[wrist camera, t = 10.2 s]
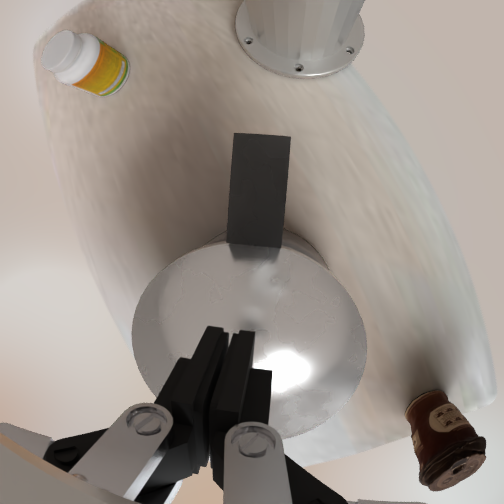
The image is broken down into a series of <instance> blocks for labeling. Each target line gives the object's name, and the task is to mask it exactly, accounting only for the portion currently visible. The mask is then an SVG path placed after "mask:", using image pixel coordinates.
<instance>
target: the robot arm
mask: <svg viewBox="0 0 504 504" xmlns="http://www.w3.org/2000/svg"><path fill="white" fill-rule="evenodd" d="M364 1H365V0H244V1H243V2H242V3H241V5H240V7H239V9H238V11H237V15H236V19H235V29H236V33H237V37H238V40H239V42H240V44H241V46H242V48H243V49H244V51H245V52H246V54H247V55H248V56H249V57H250V58H251V59H252V60H254V61H255V62H256V63H257V64H259V65H260V66H262V67H263V68H265V69H267V70H270V71H272V72H274V73H276V74H280V75H283V76H287V77H292V78H300V79H314V78H320V77H326V76H329V75H332V74H334V73H337V72H339V71H341V70H342V69H344V68H346V67H347V66H348V65H349V64H350V63H351V62H352V61H354V59H355V58H356V56H357V55H358V53H359V51H360V49H361V47H362V45H363V41H364V25H363V22H362V19H361V17H360V15H359V12H360V10H361V8H362V6H363V3H364ZM248 43H251V44H248ZM347 52H350V53H351V54H349V53H347ZM296 69H300V70H301V72H297V71H296ZM254 344H255V331H246V330H240V331H239V334H237V333H233V335H232V338H231V341H230V344H229V332H224V328H222V327H215V326H207V327H206V329H205V331H204V333H203V335H202V337H201V340H200V342H199V344H198V346H197V348H196V350H195V352H194V354H193V356H192V358H191V359H189V358H184V357H180V358H179V359H178V361H177V362H176V364H175V366H174V368H173V370H172V371H171V373H170V375H169V377H168V379H167V380H166V382H165V384H164V386H163V388H162V390H161V391H160V393H159V395H158V397H157V399H156V400H155V402H154V403H140V404H136V405H133V406H131V407H129V408H128V409H127V410H125V411H124V412H123V413H122V415H121V416H120V417H119V418H118V419H117V420H116V421H115V422H114V423H113V424H112V425H111V427H110V428H107V429H102V430H99V431H94V432H90V433H86V434H82V435H77V436H73V437H68V438H63V439H60V440H57V441H53V440H52V438H51V437H48V436H45V435H41V434H38V433H35V432H32V431H28V430H25V429H23V428H20V427H17V426H14V425H11V424H8V423H0V504H171V503H172V501H173V499H174V497H175V496H176V494H177V492H178V490H179V489H180V487H181V485H182V482H183V479H184V478H187V477H189V476H192V474H193V473H194V474H198V473H199V469H200V466H203V467H206V466H207V463H208V460H209V456H210V462H211V468H213V480H214V481H215V482H216V484H217V485H218V486H219V487H220V488H221V489H222V490H223V491H224V495H223V504H426V503H421V502H388V501H371V500H360V499H358V500H357V502H352V501H346V500H345V499H344V498H343V497H342V496H341V495H339V494H338V493H336V492H335V491H333V490H331V489H330V488H329V487H327V486H326V485H325V484H323V483H322V482H321V481H319V480H318V479H316V478H315V477H314V476H312V475H311V474H310V473H308V472H307V471H306V470H305V469H303V468H302V467H301V466H299V465H298V464H297V463H295V462H294V461H293V460H292V459H290V458H289V457H288V456H287V455H285V454H284V449H283V443H282V439H281V436H280V434H279V433H278V432H277V431H276V430H275V429H274V428H272V427H271V426H269V425H268V424H269V413H270V402H271V390H272V378H273V370H268V369H259V368H252V365H253V355H254Z"/></svg>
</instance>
